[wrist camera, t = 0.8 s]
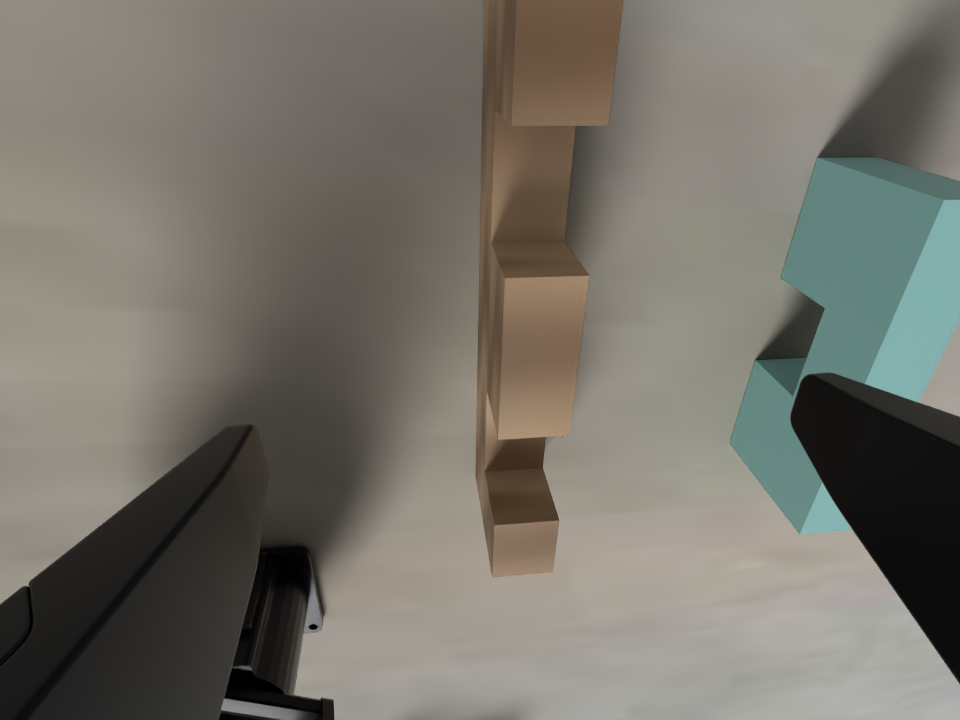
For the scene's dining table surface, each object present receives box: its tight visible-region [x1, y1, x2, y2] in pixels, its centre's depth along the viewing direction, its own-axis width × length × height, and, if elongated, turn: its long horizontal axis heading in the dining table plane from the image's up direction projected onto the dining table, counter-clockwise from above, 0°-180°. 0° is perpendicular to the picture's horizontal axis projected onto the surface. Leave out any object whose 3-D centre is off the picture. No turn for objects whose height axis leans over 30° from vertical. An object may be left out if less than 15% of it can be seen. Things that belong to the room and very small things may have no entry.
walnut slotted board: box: [476, 0, 623, 577], centre depth 21 cm, size 20×2×6 cm, turn 179°
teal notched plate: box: [730, 157, 960, 534], centre depth 23 cm, size 14×2×6 cm, turn 179°
